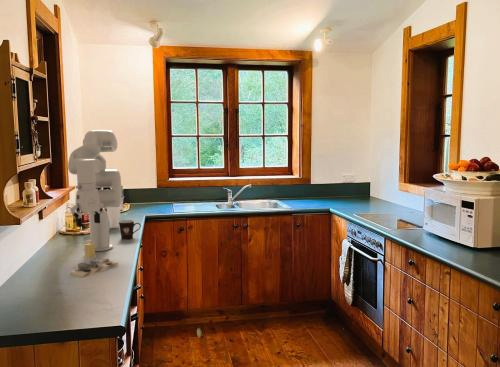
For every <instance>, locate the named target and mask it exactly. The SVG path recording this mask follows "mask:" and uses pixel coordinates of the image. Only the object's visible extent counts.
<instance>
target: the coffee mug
mask: <svg viewBox="0 0 500 367" xmlns="http://www.w3.org/2000/svg"><path fill="white" fill-rule="evenodd" d="M136 225H139V227H138V229H136V230H135V231H134V229H135V228H134V227H135V226H136ZM118 227H119V231H120V232H119V233H120V237H121V240H132V239H133V238H134V234H135V233H137V231H139V230H140V229H141V227H142V226H141V224H140V222H136V223H135V220H133V219H123V220H119V226H118Z"/></svg>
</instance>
